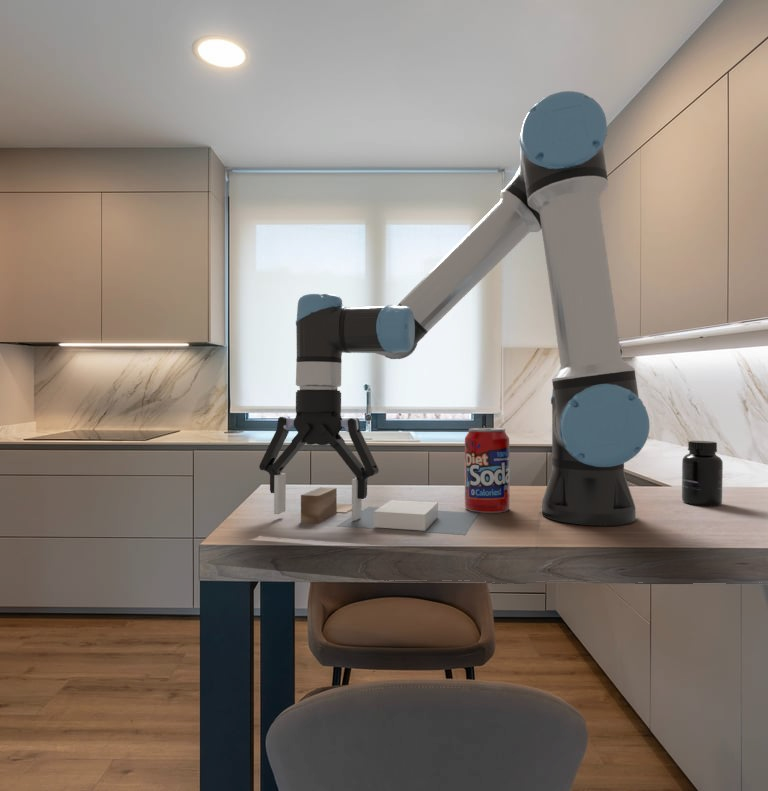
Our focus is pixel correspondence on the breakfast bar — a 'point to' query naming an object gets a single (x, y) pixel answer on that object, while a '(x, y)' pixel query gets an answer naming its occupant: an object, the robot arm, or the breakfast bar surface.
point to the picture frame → (406, 515)
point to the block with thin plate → (321, 505)
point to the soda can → (487, 470)
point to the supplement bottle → (702, 474)
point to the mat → (443, 524)
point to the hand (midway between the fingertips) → (317, 516)
